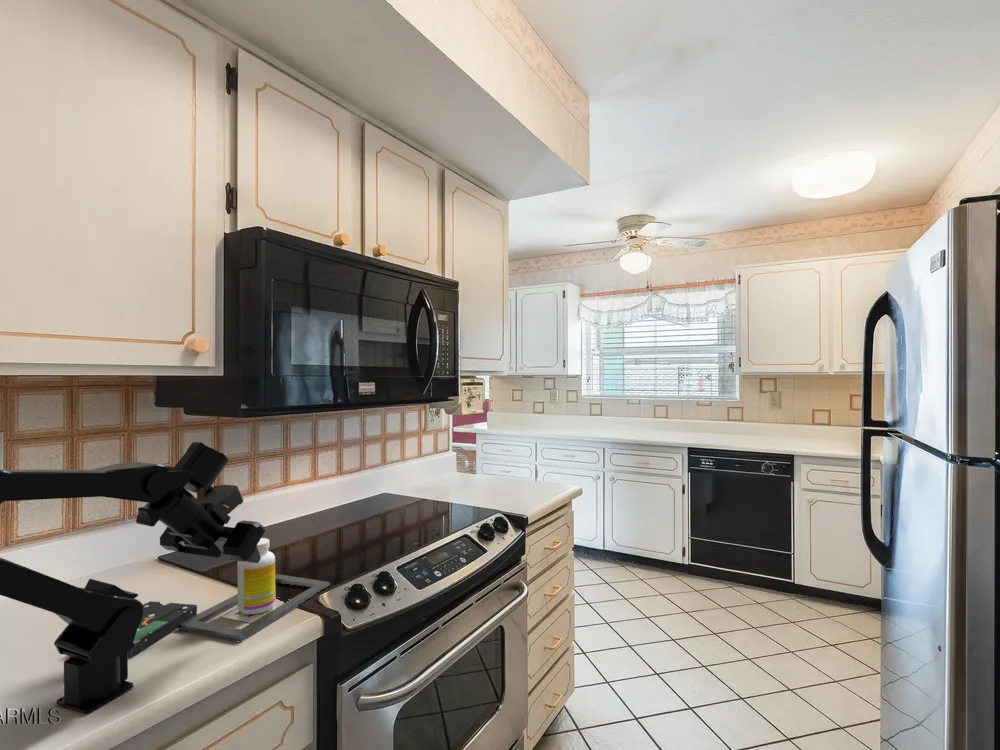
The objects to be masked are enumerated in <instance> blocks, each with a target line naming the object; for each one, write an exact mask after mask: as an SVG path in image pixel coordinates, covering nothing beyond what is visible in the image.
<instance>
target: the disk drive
mask: <svg viewBox="0 0 1000 750" xmlns="http://www.w3.org/2000/svg"><path fill="white" fill-rule="evenodd" d="M197 614H198V605H197V604H193V603H192V604H190V603H188V604H186V603H176V602H175V603H174V602H169V603H167V604H163V603H161V602H160V601H148V602H146V603H144V604H143V616H142V620H141V622H140V624H139V626H138V629H137V632H136V635H135V638H134V641H133V644H132V648H131V650H130V651H129V652H128V659H133V658H134V657H135V656H137V655H139V654H141V653H142V652H144V651H145V650H148V649H149V648H150V647H151V646H153V645H155V644H157V643H158V642H159V641H161V640H162V639H164V638H165V637H167V636H169V635H170V634H172V633H174V632H175V631H176V630H179V628H178V624H180V623H182V622H184V621H186V620H187V619H189V618H191V617H193V616H195V615H197Z"/></svg>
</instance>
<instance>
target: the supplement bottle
mask: <svg viewBox="0 0 1000 750" xmlns="http://www.w3.org/2000/svg"><path fill="white" fill-rule="evenodd" d="M270 546H271V545H270V539H269V538H265V537H261V539H260V541H259V543H258V544H257V548H258V551H259V554H260V557H261V559H260V561H259V563H251V562H243V561H237V564H236V565H237V566H236V567H237V594H238V604H237V607H238V610H239V611H240V612H241V613H243V614H258V613H262V612H265V611H267V610H269V609H271V608H272V607H273V606H274V605H275V602H276V596H277V595H276V593H277V592H276V590H277V589H276V584H275V574H276V556H275V554H274V553H273V552H272V551H269V549H270Z"/></svg>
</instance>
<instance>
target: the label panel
mask: <svg viewBox="0 0 1000 750" xmlns="http://www.w3.org/2000/svg"><path fill="white" fill-rule="evenodd" d="M276 583H277V584H279V583H281V585H285V584H290V585H289V586H292V585H298V586H306V587H311V588H307V589H306V590H304V591H303V592H301V593H299V594H298V595H296V596H294V597H292V598H291V599H288V600H289V601H287V602H286V603H284V602H283V601H280V600H278V599H276V602H275V605H274V606H273V607H272V608H271V609H269V610H267V611H265V612H262V613H258V614H243V613H241V612H240V611H239V610H238V593H237V594H234V595H233V596H230V597H229V598H227V599H225V600H223V601H220V602H219V603H217V604H214V605H213V606H211V607H209V608H207V609H205V610H203V611H201V612H200V613H197V615H195V616H193V617H191V618H189V619H187V620H186V621H184V622H182V623H180V624H178V631H184V632H188V633H193V634H198V635H201V636H208V637H212V638H217V639H222V640H226V639H227V641H230V640H232V642H235V641H239V642H238V643H240V642H241V641H242V642H244V641H245V639H246V640H247V639H249V638H251V637H252V636H254V635H255V634H257V633H258V632H260V631H261V630H263V629H265V628H267V627H268V626H269V625H271V624H273V623H274V622H276V621H278V620H279V619H281V618H282V617H284V616H286V615H287V614H289V613H290V612H292V611H293V610H295V609H296V608H298V607H299V606H298V605H299V604H301V603H302V602H304V601H305V600H306V599H308V598H310V597H311V596H313V595H314V594H316V593H317V592H319V591H320V590H322V589H324V588H326V587H328V586H330V587H331V583H330V581H325V580H319V579H312V578H311V579H310V578H306V577H298V576H291V575H285V574H279V573H275V585H277V584H276ZM298 586H297V587H298ZM233 607H235V608H233ZM232 608H233V609H232ZM230 609H231V610H230ZM226 611H227V612H226ZM224 612H225V613H224ZM222 613H224V614H222ZM221 614H222V615H221ZM219 615H220V616H219ZM217 616H219V618H222V619H228V620H233V621H237V622H238V621H239V622H243V623H249V624H248V625H245V626H243V627H242V628H235V627H231V626H226V625H220V624H215V623H210V622H207V621H210V620H212V619H213V618H215V617H217ZM243 640H244V641H243ZM242 642H241V643H242Z"/></svg>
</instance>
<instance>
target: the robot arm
mask: <svg viewBox="0 0 1000 750" xmlns="http://www.w3.org/2000/svg"><path fill="white" fill-rule="evenodd" d="M228 463H230V462H229V459H228V457H227V456H226V455H225V454H224V453H223V452H220V451H218V450H216V449H214V448H212V447H210V446H208V445H206V444H204V443H203V442H201V441H193V442H191V444H190V445H189V446H188V448H187V450H186V452H185V453H184V454H183V455H182V457H180V459H179V460H178V462H177V463H175V465H174V466H167V465H164V464H159V463H150V462H142V461H127V462H122V463H121V462H120V463H116V464H110V465H107V466H103V467H98V468H92V469H90V468H88V469H87V468H86V469H77V468H76V469H75V468H73V469H64V468H63V469H0V505H1V504H2V503H4V502H11V501H14V502H15V501H37V500H53V499H54V500H55V499H59V500H60V499H78V498H79V499H81V498H99V497H102V498H108V499H109V498H111V499H118V500H124V501H134V502H140V503H146V504H145V505H143V506H140V507H138V508H137V515H136V517H135V518H136V519H135V520H136V521H135V522H136V524H138V525H143V526H146V527H154V526H156V525H157V523H158V522H161V523H162V524H163V525H165V526H166V528H165V530H164V531H163V532H162V534H161V535H160V536H159V545H160V546H161V547H162V548H163V549H165V550H167V551H171V552H176V553H181V554H182V553H183V554H189V555H195V556H203V557H210V558H216V559H217V558H219V559H220V558H221V556H222V555H224V556H225V557H226V558H228V559H229V560H231V561H235V562H236V561H237V562H238V561H243V562H251V563H259V561H260V559H261V557H260V554H259V551H258V548H257V544H258V543H259V541H260V539H261V538H263V536H264V534H265V532H266V529H265V526H264V525H262V523H260V521H252V520H243V519H242V520H241V521H238V522H236V524H235V526H234V527H231V526H225V525H228V523H229V521H230V520H231V516H229V514H231V513H232V512H233V511H234V510H235V509H236V508H237V507H238V506H239V505H240V506H241V505H242V504H243V503H244V498H243V496H242V493H241V491H240V489H239V487H238V485H233V484H220V485H216V484H215V485H214V486H213V484H214V482H216V480H217V478H218V477H219V476H220V474H221V473H222V472H223V470H225V468H226V467H227V465H228ZM192 493H195V494H196V497H195V495H193V494H192ZM217 542H224V544H223V546H222V551H221V549H220V548H219V547H218V546H217V544H215V543H217ZM0 596H2V597H5V598H8V599H11V600H14V601H16V602H19V603H24V604H27V605H29V606H32V607H36V608H38V609H41V610H43V611H44V610H45V611H46V612H51V613H53V614H54V615H56V616H58V618H60V619H61V620H62V621H63V622H65V623H66V624H67V625H66V627H65V628H64V629H63V631H62V632H61V633H60V634H59V635H58V636H57V638H56V639H55V640H54V643H53V644H54V646H55V648H56V650H57V652H58V654H60V655H64V656H68V657H69V658H68V659H66V660H64V661H63V696H62V697H61V696H60V697H59V698H57V700H56V702H55V703H56V705H57V706H60V707H63V708H67V709H71V710H73V711H77V712H80V713H83V714H88V713H91V712H93V711H94V710H97V709H99V708H100V707H101V706H103V705H105V704H107V703H108V702H110V701H112V700H113V699H115V698H117V697H119V696H120V695H122V694H123V693H125V692H127V691H129V690H131V689H132V688H133V687H134V682H131V681H127V680H128V678H129V669H128V668H129V662H128V661H129V658H128V652H129V651H130V650H131V648H132V644H133V641H134V638H135V635H136V632H137V629H138V626H139V624H140V622H141V620H142V616H143V605H144V604H143V602H141V601H139V599H137V597H138V596H139V594H138V593H136V592H132V591H129V590H128V591H127V590H125V589H122V588H120V587H119V586H118V585H116V584H112V583H108V582H105V581H102V580H101V581H100V580H97V579H93V578H89V579H88V581H87V582H86V585H85V586H84V587H78V586H76V585H72V584H70V583H68V582H65V581H63V580H60V579H57V578H55V577H52V576H49V575H47V574H44V573H42V572H40V571H36V570H34V569H31V568H28V567H26V566H23V565H21V564H18V563H15V562H13V561H10V560H8V559H5V558H3V557H0Z"/></svg>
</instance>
